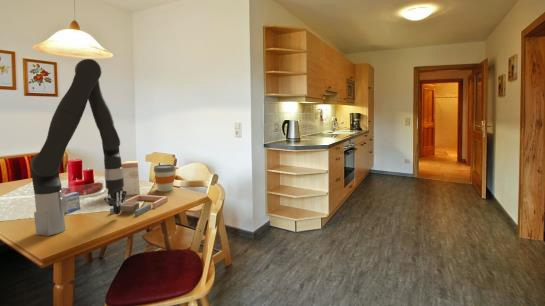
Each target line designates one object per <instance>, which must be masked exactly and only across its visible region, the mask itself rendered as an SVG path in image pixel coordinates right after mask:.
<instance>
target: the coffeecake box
mask: <svg viewBox="0 0 545 306" xmlns="http://www.w3.org/2000/svg"><path fill="white" fill-rule="evenodd" d="M121 163H122V170H123V179H124V187H122V188H123V190H124V191H127V193H126V196H125V197H127V196H137V195H141V193H140V192H141V191H140V189H141V188H140V187H141V186H140V177H139V163H138V160H131V161H130V160H129V161H121Z"/></svg>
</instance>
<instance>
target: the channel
mask: <svg viewBox="0 0 545 306" xmlns="http://www.w3.org/2000/svg"><path fill="white" fill-rule="evenodd" d="M125 203H127V202H124V201H123V203H121V205H120V210H121V206H122V205H123V204H125ZM151 209H152V205H151V203H147V204H145V205H143V206H141V207H139V209H137V210H135V213H134V216H136V217H139V216H140V215H142V214H144V213H146V212H147V211H149V210H151ZM109 214H110V215H115V214H114V208H113V207H111V208H110V209H109Z"/></svg>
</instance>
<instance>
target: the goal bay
mask: <svg viewBox="0 0 545 306" xmlns="http://www.w3.org/2000/svg"><path fill="white" fill-rule="evenodd" d="M139 201H147V202H148V201H151V202H152V205H151V206H152V208H153V209H156V208H158V207H160V206H161V205H164V204H165V203H167V202H168V201H169V197H168V196H164V195H163V196H162V195H148V194H138V195H133V197H130V198H128V199H126V200H124V201H123V203H124V202H135V203H137V202H139Z"/></svg>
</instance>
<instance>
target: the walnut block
mask: <svg viewBox="0 0 545 306" xmlns="http://www.w3.org/2000/svg"><path fill="white" fill-rule="evenodd" d="M139 208H140V202H127V203H125V204H123V205H122V206H121V211H120V214H127V215H128V214H129V215H134V214H135V210H137V209H139Z"/></svg>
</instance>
